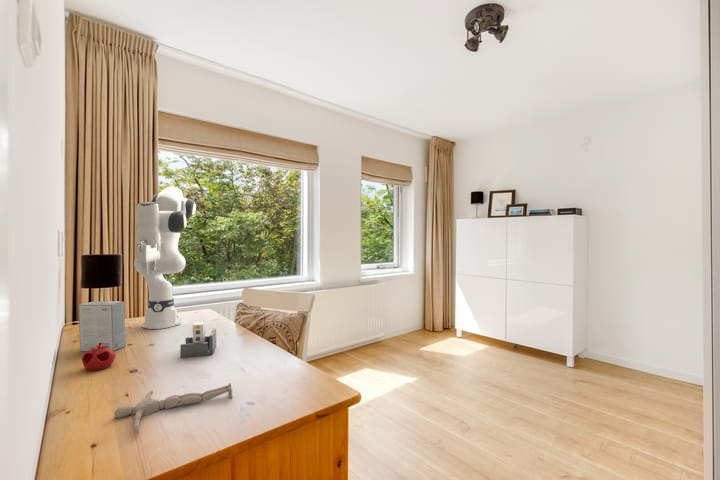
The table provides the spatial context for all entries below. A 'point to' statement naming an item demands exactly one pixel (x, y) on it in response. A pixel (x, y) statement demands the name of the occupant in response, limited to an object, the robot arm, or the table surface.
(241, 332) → the table surface
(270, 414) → the table surface
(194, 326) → the ivory rectangular block
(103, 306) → the hard drive box
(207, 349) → the bracket
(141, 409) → the artist's mannequin
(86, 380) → the table surface
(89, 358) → the pomegranate
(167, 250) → the robot arm
